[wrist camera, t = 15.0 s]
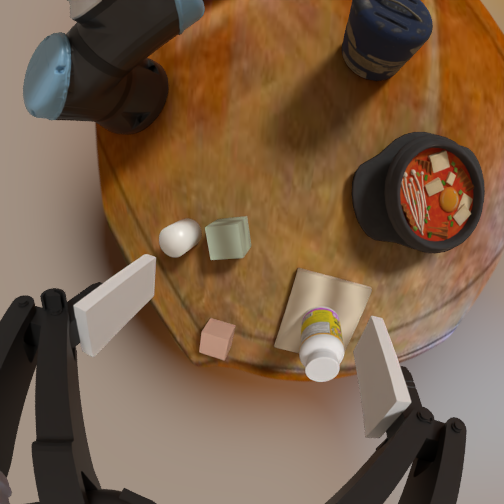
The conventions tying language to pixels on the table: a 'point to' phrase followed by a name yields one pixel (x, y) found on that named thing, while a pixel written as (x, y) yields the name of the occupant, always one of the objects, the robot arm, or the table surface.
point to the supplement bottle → (321, 344)
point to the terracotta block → (216, 338)
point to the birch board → (321, 294)
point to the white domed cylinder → (180, 237)
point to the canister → (384, 36)
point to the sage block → (228, 238)
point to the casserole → (420, 193)
